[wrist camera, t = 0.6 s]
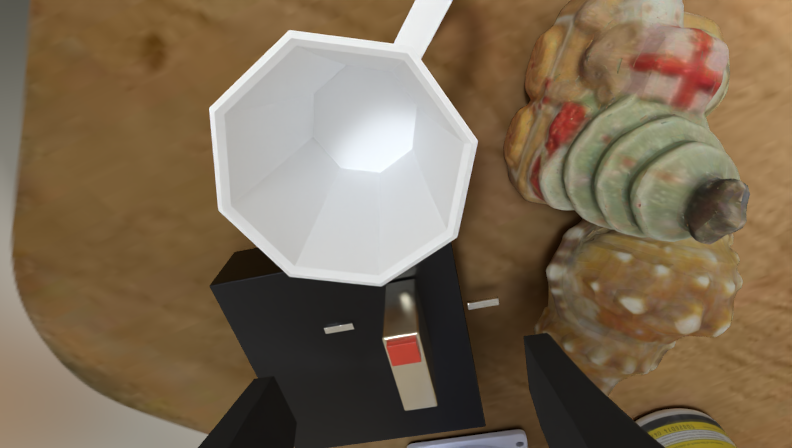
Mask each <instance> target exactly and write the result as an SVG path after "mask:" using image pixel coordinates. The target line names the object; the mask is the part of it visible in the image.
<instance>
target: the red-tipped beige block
mask: <svg viewBox="0 0 792 448" xmlns="http://www.w3.org/2000/svg"><path fill="white" fill-rule="evenodd" d="M382 341H383V344H384V347H385V350H386V353H387V357H388V360H389V363H390V366H391V369H392V372H393V376H394V379H395V382H396V385H397V388H398V391H399V395H400V398H401V401H402V404H403V407H404V410H405V411H408V410H415V409H422V408H429V407H436V406H437V404H438V401H437V391H436V380H435V370H434V359H433V349H432V342H431V338H430V334H429V330H428V326H427V322H426V318H425V314H424V310H423V306H422V302H421V297H420V293H419V289H418V285H417V281H416V279H409V280H404V281H398V282H393V283H387V284H386V285H385V298H384V313H383V329H382Z"/></svg>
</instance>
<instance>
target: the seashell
mask: <svg viewBox="0 0 792 448" xmlns="http://www.w3.org/2000/svg"><path fill="white" fill-rule="evenodd" d="M733 238H734V237H733V235H732V233H730V234H727V235H725V236H724V237H722V238H721V239H719V240H718V241H716V242H714V243H712V244H710V245H709V244H704V243H700V242H698V241H696V240H695V239H694V238H693V237H690V238H688V239H684V240H680V241H675V242H668V241H659V240H655V239H652V238H650V237H646V238H641V237H637V236H632V235H627V234H623V233H620V232H617V231H616V230H613V229H608V228H605V227H601V226H598V225H596V224H593V223H591V222H588V221H586V220H585V219H582V220H581V221H580V222H579V223H578V224H576V225H575V226H573V227H572V228H570V229H568V230H567V232H566V233H565V234H564V235H563V237H562V241H561V243H560V245H559V247H558V249H557V251H556V252H555V254H554V256H553V258H552V259H551V261H550V263H549V265H548V267H547V269H546V275H547V280H548V283H549V299H548V306H547V307H545V308H544V310H543V313H542V315H541V316H540V318H539V320H538V321H537V323H536V325H535V327H534V335H535V334H541V333H548V334H549V335H551V336H552V338H553V339H554V340H555V341H556V343H557V344H558V345H559V346H560V347H561V349H562V350H563V351H564V352H565V353H566V354H567V355H568V356H569V358H570V359H571V360H572V361H573V362H574V363H575V364H576V365H577V366H578V367H579V368H580V369H581V371H582V372H583V373H584V374H585V375H586V376H587V377H588V378H589V379H590V380H591V381H592V382H593V383H594V384H595V385H596V386H597V387H598V388H599V389H600V390H601V391H602V392H603V393H604V394H605V395H606V396H607V397H608V395H609V394H610V392H611V391H612V389H613V388H614V386H615V385H616V384H617V383H618V382H620V381H622V380H624V379H626V378H627V377H629V376H632V375H635V374H641V375H643V374H646V373H648V372H649V371H652V370H654V369H655V368H657V366H658V365H659V363H660V361H661V360H662V358H663V356H664V354H665V353H666V352H667V351H668V350H669V349H671V348H672V347H673V346H674V345H675V341H676V340H678V339H680V338H681V337H685V336H706V337H716V336H718V335H720V334H722V333H723V332H724V331H725V330H726V329H727V328H729V327H730V324H731V321H732V319H733V308H734V298H735V295H736V293H737V291H738V290H739V289H741V287H742V283H743V280H742V278H741V276H740V274H739V273H738V269H737V266H738V264H739V262H740V261H739V257H738V254H737V253H736V252H735V251H733V250H732V249H731V248H730V246H731V245H732V244H733Z"/></svg>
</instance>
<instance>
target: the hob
mask: <svg viewBox="0 0 792 448" xmlns="http://www.w3.org/2000/svg"><path fill="white" fill-rule="evenodd" d="M409 279H416V281H417V285H418V289H419V293H420V297H421V302H422V306H423V310H424V314H425V318H426V322H427V326H428V330H429V334H430V338H431V342H432V349H433V359H434V370H435V380H436V391H437V401H438V404H437V406H436V407H429V408H422V409H415V410H408V411H405V410H404V407H403V404H402V401H401V398H400V395H399V391H398V388H397V385H396V382H395V379H394V376H393V372H392V369H391V366H390V363H389V360H388V357H387V353H386V350H385V347H384V344H383V341H382V329H383V313H384V298H385V285H386V284H387V283H386V284H385V285H383V286H382V287H381V286H371V285H362V284H352V283H343V282H334V281H324V280H315V279H306V278H296V277H289V276H288V275H287V274H286V273H285V272H284V271H283V270H282V269H281V268H280V267H279V266H278V265H276V264H275V263H274V262H273V261H272V260H271V259H270V258H269V257H268V256H267V255H266V254H265V253H264V252H263V251H261V250H260V249H259V248H254V249H249V250H244V251H239V252H235V253H234V254H233V255H232V256H231V258H230V259H229V260H228V262H227V263H226V264H225V266H224V267H223V268H222V270H221V271H220V272H219V274H218V275H217V276H216V278H215V279H214V281H213V282H212V283H211V285H210V288H211V290H212V292H213V294H214V295H215V297H216V299H217V301H218V303H219V305H220V307H221V309H222V311H223V313H224V314H225V316H226V318H227V320H228V322H229V324H230V326H231V328H232V330H233V331H234V333H235V335H236V337H237V339H238V341H239V343H240V345H241V347H242V349H243V350H244V352H245V354H246V356H247V358H248V360H249V362H250V364H251V366H252V368H253V369H254V371H255V373H256V375H257V377H258V378H264V377H270V376H274V377H275V379H276V381H277V383H278V385H279V387H280V389H281V391H282V393H283V395H284V397H285V399H286V401H287V403H288V405H289V407H290V409H291V411H292V413H293V415H294V417H295V419H296V422H297V427H296V435H295V442H294V447H295V448H330V447H337V446H344V445H352V444H359V443H366V442H374V441H381V440H389V439H396V438H403V437H411V436H418V435H425V434H433V433H440V432H447V431H455V430H462V429H470V428H477V427H484V426H486V424H485V419H484V413H483V408H482V403H481V397H480V392H479V387H478V382H477V376H476V371H475V366H474V361H473V355H472V350H471V345H470V339H469V334H468V329H467V324H466V318H465V313H464V308H463V302H462V297H461V292H460V287H459V281H458V276H457V271H456V265H455V260H454V255H453V250H452V244H451V242H449V243H448V244H446V245H445V246H443V247H442V248H440V249H439V250H437V251H435V252H434V253H432V254H431V255H429V256H428V257H426V258H425V259H423V260H422V261H420V262H419V263H417V264H415V265H414V266H412V267H411V268H409V269H408V270H406V271H405V272H403V273H402V274H400V275H399V276H397V277H395V278H394V279H392V280H391V281H389V282H388V283H393V282H398V281H404V280H409ZM467 305H468V310H471V309H477V308H483V307H488V306H494V305H499V299H498V297H492V298H486V299H480V300H475V301H469V302H467Z"/></svg>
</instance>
